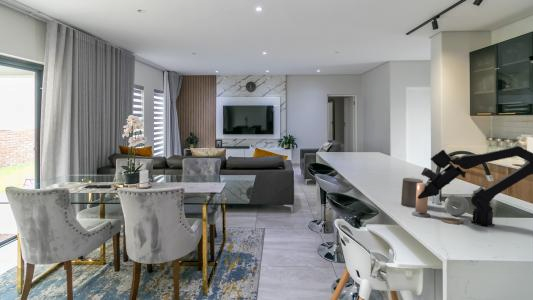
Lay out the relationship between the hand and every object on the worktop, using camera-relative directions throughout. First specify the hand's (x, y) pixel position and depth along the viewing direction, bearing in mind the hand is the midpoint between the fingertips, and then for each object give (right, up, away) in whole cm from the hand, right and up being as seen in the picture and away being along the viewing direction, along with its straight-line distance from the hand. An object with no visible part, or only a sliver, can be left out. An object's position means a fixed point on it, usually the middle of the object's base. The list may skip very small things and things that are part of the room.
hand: (418, 197), depth 153 cm
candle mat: (+1, -8, 0) cm, 8 cm away
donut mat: (+10, -9, -9) cm, 17 cm away
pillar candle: (+4, -7, +17) cm, 19 cm away
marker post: (+1, -7, 0) cm, 7 cm away
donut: (+17, -9, 0) cm, 19 cm away
